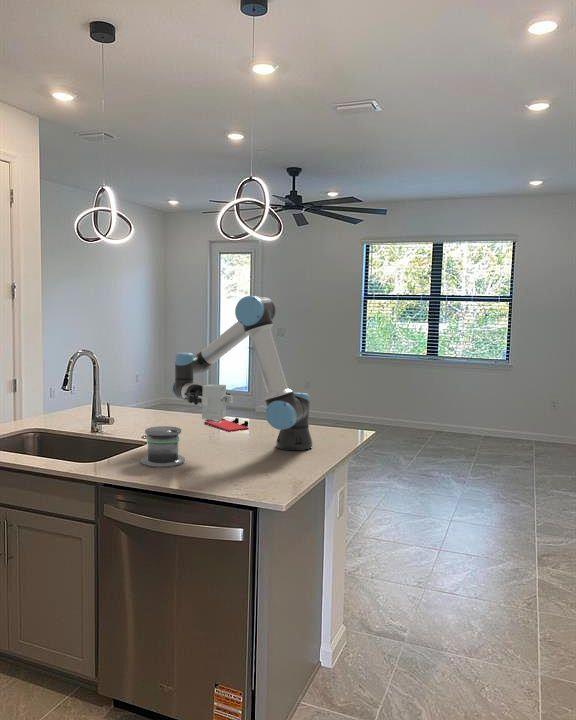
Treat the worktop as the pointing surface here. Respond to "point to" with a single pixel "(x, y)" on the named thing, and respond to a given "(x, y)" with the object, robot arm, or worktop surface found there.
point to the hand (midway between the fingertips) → (219, 400)
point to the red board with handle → (228, 424)
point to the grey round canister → (162, 447)
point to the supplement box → (214, 402)
